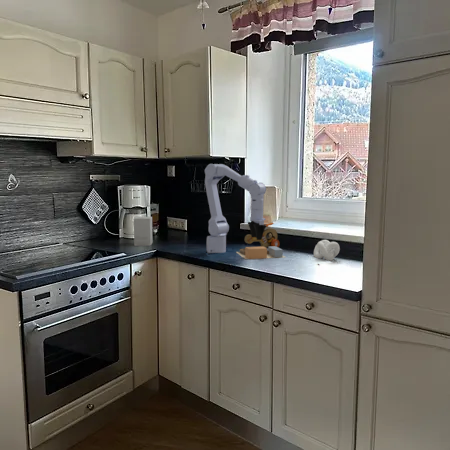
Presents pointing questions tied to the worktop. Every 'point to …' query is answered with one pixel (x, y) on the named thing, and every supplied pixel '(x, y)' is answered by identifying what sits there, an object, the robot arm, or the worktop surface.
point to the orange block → (255, 252)
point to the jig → (242, 253)
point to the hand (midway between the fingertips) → (256, 238)
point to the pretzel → (326, 250)
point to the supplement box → (143, 231)
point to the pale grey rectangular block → (275, 251)
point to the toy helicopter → (265, 237)
